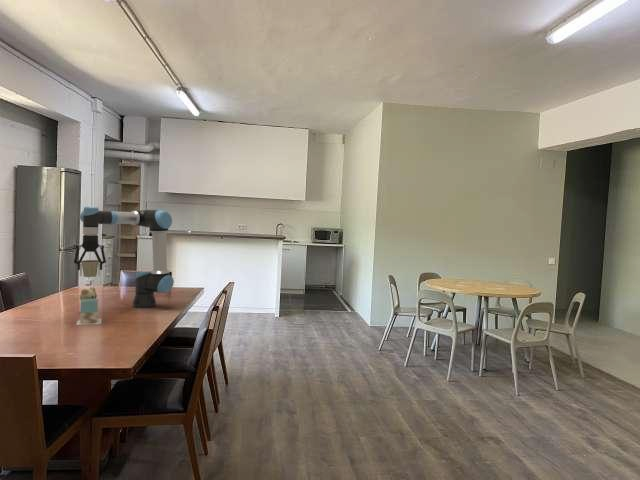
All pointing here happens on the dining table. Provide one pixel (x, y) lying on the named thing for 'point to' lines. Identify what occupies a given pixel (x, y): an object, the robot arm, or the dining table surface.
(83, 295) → the toy
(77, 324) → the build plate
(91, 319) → the beech block
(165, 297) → the dining table surface
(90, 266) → the flower pot
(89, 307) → the teal block
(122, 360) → the dining table surface
